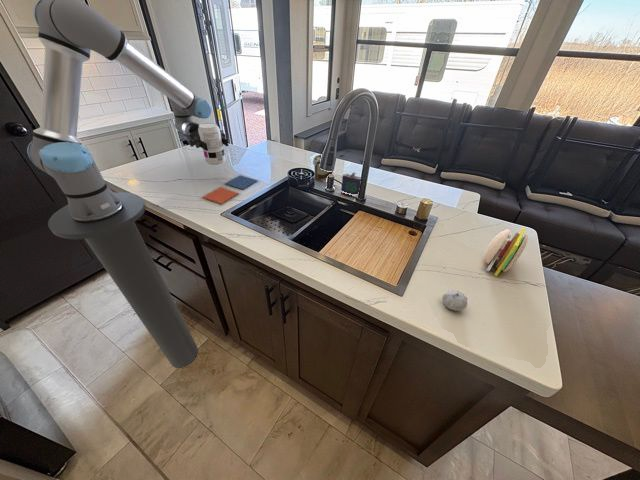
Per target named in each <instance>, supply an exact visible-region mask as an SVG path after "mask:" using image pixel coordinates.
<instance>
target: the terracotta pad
mask: <svg viewBox="0 0 640 480" xmlns="http://www.w3.org/2000/svg"><path fill="white" fill-rule="evenodd" d="M238 195H239V193H238V192H235V191H234V190H233V191H232V190H229V189H226V188H223V187H218V188H217V189H215V190H213V191H211V192H209V193H207V194H205V195H204V196H202V199H204V200H207V201H210V202H214V203H216V204H219V205H223V204H225V203H226V202H227V201H229V200H231V199H233V198H234V197H236V196H238Z"/></svg>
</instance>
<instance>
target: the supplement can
mask: <svg viewBox="0 0 640 480" xmlns="http://www.w3.org/2000/svg"><path fill="white" fill-rule="evenodd" d="M198 132H199V136H200V140H201V141H203V142H205V143H206V144H207V148H208V151H206V150H204V149H203V148H202V152H203V155H204V156H203V157H204V160H205V163H207V164H209V165H211V166H212V165H213V166H217V165H222V164H224V163H225V161H226V155H225V154H226V153H225V150H224V144H222V139H221V133H222V132H221V129H220V127H219V126H218V124H217V123H214V122H205V123H201V124H199V128H198ZM220 132H221V133H220Z"/></svg>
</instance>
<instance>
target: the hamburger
mask: <svg viewBox="0 0 640 480" xmlns="http://www.w3.org/2000/svg"><path fill="white" fill-rule="evenodd" d="M526 230H527V228H526V227H522V228H521V230H520V231H519V232H516V233H515V234H514V235H513V233H511V231H512V229H504V230H502V231H500V232H499V233H498V234H496V236H494V238H492V240H491V241H490V242H489V244H488V246H487V248H486V250H485V254H484V261H485V263H486V264H488V266H487V268H486V271H487V272H490V271H491V270H492V267H493V266H494V264H495V266H494V267H495V268H496V271H495V272H494V274H493V275H494V276H495V277H498V275H499V274H500V273H501V272H502V273H505V272H507V271H509V270H510V269H511V268H512V267H513V266H514V265H515V264H516V262H517V261H518V260H519V258H520V257H521V256H522V254H523V252H524V250H525V248H526V246H527V243H528V234H525V232H526ZM524 234H525V235H524ZM512 236H513V237H512ZM511 237H512V238H511ZM510 239H511V240H510ZM498 258H499V259H498ZM497 259H498V261H497ZM496 261H497V262H496ZM495 262H496V263H495Z"/></svg>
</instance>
